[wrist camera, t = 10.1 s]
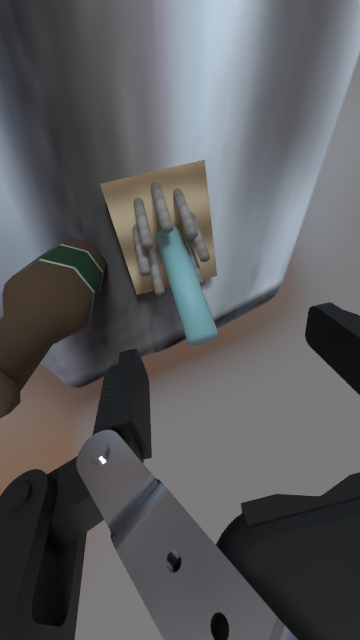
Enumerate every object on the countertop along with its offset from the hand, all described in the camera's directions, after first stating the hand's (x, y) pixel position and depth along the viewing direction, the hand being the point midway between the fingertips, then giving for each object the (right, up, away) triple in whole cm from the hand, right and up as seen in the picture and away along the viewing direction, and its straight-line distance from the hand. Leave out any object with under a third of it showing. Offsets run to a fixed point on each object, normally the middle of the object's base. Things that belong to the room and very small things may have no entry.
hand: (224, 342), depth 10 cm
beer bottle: (-16, +9, +22) cm, 29 cm away
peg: (-4, +11, +18) cm, 21 cm away
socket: (-4, +13, +21) cm, 25 cm away
